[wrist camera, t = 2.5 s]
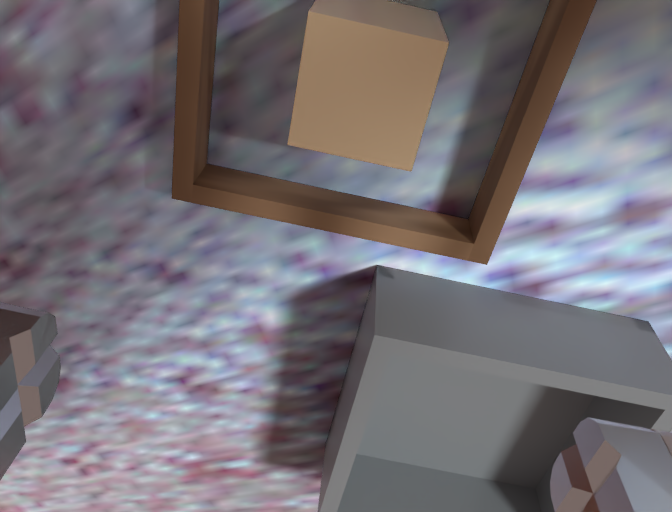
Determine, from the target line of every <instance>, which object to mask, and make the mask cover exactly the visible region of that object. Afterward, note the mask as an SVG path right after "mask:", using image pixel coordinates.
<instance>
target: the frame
mask: <svg viewBox="0 0 672 512" xmlns="http://www.w3.org/2000/svg"><path fill="white" fill-rule="evenodd" d="M596 1H597V0H550V2H549V5H548V7H547V10H546V13H545V15H544V18H543V21H542V23H541V26H540V29H539V31H538V34H537V37H536V39H535V42H534V45H533V47H532V50H531V53H530V55H529V58H528V61H527V64H526V66H525V69H524V72H523V74H522V77H521V80H520V82H519V85H518V88H517V90H516V93H515V96H514V98H513V101H512V104H511V106H510V109H509V112H508V114H507V117H506V120H505V122H504V125H503V128H502V130H501V133H500V136H499V138H498V141H497V144H496V147H495V149H494V152H493V155H492V157H491V160H490V163H489V165H488V168H487V171H486V173H485V176H484V179H483V181H482V184H481V187H480V189H479V192H478V195H477V197H476V200H475V203H474V205H473V208H472V211H471V213H470V216H469V219H464V218H460V217H455V216H450V215H446V214H441V213H436V212H431V211H427V210H422V209H417V208H413V207H408V206H403V205H399V204H394V203H389V202H384V201H380V200H375V199H370V198H366V197H361V196H356V195H352V194H347V193H342V192H337V191H333V190H328V189H323V188H319V187H314V186H309V185H305V184H300V183H295V182H290V181H286V180H281V179H276V178H272V177H267V176H262V175H258V174H253V173H248V172H244V171H239V170H234V169H229V168H225V167H220V166H215V165H211V164H207V154H208V141H209V128H210V115H211V102H212V88H213V75H214V62H215V49H216V36H217V22H218V9H219V0H180V3H179V27H178V52H177V77H176V102H175V127H174V152H173V177H172V199H177V200H181V201H186V202H191V203H196V204H200V205H205V206H210V207H215V208H219V209H224V210H229V211H234V212H239V213H243V214H248V215H253V216H258V217H262V218H267V219H272V220H277V221H281V222H286V223H291V224H296V225H300V226H305V227H310V228H315V229H320V230H324V231H329V232H334V233H339V234H343V235H348V236H353V237H358V238H362V239H367V240H372V241H377V242H381V243H386V244H391V245H396V246H401V247H405V248H410V249H415V250H420V251H424V252H429V253H434V254H439V255H443V256H448V257H453V258H458V259H462V260H467V261H472V262H477V263H482V264H486V265H487V263H488V261H489V259H490V256H491V254H492V251H493V249H494V247H495V244H496V242H497V239H498V237H499V235H500V232H501V230H502V227H503V225H504V223H505V220H506V218H507V215H508V213H509V210H510V208H511V206H512V203H513V201H514V198H515V196H516V194H517V191H518V189H519V186H520V184H521V182H522V179H523V177H524V174H525V172H526V170H527V167H528V165H529V162H530V160H531V158H532V155H533V153H534V150H535V148H536V145H537V143H538V141H539V138H540V136H541V133H542V131H543V129H544V126H545V124H546V121H547V119H548V117H549V114H550V112H551V109H552V107H553V105H554V102H555V100H556V97H557V95H558V93H559V90H560V88H561V85H562V83H563V81H564V78H565V76H566V73H567V71H568V68H569V66H570V64H571V61H572V59H573V56H574V54H575V52H576V49H577V47H578V44H579V42H580V40H581V37H582V35H583V32H584V30H585V28H586V25H587V23H588V20H589V18H590V16H591V13H592V11H593V8H594V6H595V3H596Z"/></svg>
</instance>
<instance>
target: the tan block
mask: <svg viewBox="0 0 672 512" xmlns="http://www.w3.org/2000/svg"><path fill="white" fill-rule="evenodd" d="M448 45H449V41H448V38H447V36H446V33H445V30H444V28H443V25H442V23H441V20H440V17H439V15H438V12H436V11H432V10H427V9H423V8H419V7H414V6H410V5H405V4H401V3H396V2H392V1H388V0H315V2H314V3H313V5H312V6H311V8H310V9H309V11H308V17H307V23H306V30H305V36H304V42H303V49H302V55H301V61H300V68H299V74H298V80H297V87H296V93H295V99H294V106H293V112H292V118H291V125H290V131H289V137H288V144H287V145H290V146H295V147H300V148H304V149H309V150H314V151H318V152H323V153H327V154H332V155H337V156H341V157H346V158H351V159H355V160H360V161H365V162H369V163H374V164H378V165H383V166H388V167H392V168H397V169H402V170H406V171H412V168H413V164H414V161H415V157H416V154H417V151H418V147H419V144H420V140H421V137H422V134H423V130H424V127H425V123H426V120H427V117H428V113H429V110H430V106H431V103H432V100H433V96H434V93H435V89H436V86H437V83H438V79H439V76H440V72H441V69H442V66H443V62H444V59H445V55H446V52H447V49H448Z"/></svg>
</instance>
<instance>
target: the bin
mask: <svg viewBox="0 0 672 512" xmlns="http://www.w3.org/2000/svg"><path fill="white" fill-rule="evenodd" d="M588 417H589V418H595V419H600V420H605V421H611V422H616V423H622V424H627V425H632V426H638V427H643V428H647V429H655V430H661V431H666V432H671V430H672V360H671V359H670V357H669V355H668V354H667V352H666V350H665V348H664V347H663V345H662V343H661V342H660V340H659V338H658V337H657V335H656V333H655V332H654V330H653V328H652V327H651V325H650V323H649V322H648V321H643V320H638V319H633V318H629V317H624V316H619V315H614V314H609V313H605V312H600V311H595V310H590V309H585V308H581V307H576V306H571V305H566V304H561V303H557V302H552V301H547V300H542V299H537V298H533V297H528V296H523V295H518V294H513V293H509V292H504V291H499V290H494V289H489V288H485V287H480V286H475V285H470V284H465V283H461V282H456V281H451V280H446V279H441V278H437V277H432V276H427V275H422V274H417V273H413V272H408V271H403V270H398V269H393V268H389V267H384V266H379V265H377V267H376V270H375V274H374V277H373V281H372V284H371V288H370V291H369V295H368V298H367V302H366V305H365V309H364V312H363V316H362V319H361V323H360V326H359V330H358V333H357V337H356V340H355V344H354V347H353V351H352V354H351V358H350V361H349V365H348V368H347V372H346V375H345V379H344V382H343V386H342V389H341V393H340V396H339V400H338V403H337V407H336V410H335V414H334V417H333V421H332V424H331V428H330V431H329V435H328V438H327V442H326V445H325V453H324V462H323V471H322V479H321V488H320V497H319V505H318V512H555V510H554V507H553V503H552V499H551V490H550V479H551V474H552V468H553V465H554V463H555V461H556V459H557V458H558V456H559V454H560V452H561V451H563V450H565V449H567V448H569V447H571V446H573V445H575V444H576V441H575V438H574V435H573V432H574V430H575V429H576V427H577V426H578V424H579V423H580V422H581V421H583V420H584V419H586V418H588Z"/></svg>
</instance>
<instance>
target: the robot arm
mask: <svg viewBox="0 0 672 512" xmlns="http://www.w3.org/2000/svg"><path fill="white" fill-rule="evenodd" d="M56 335H57V327H56V320H55V316H53V315H51V314H50V313H47V312H43V311H38V310H34V309H29V308H24V307H20V306H15V305H11V304H6V303H2V302H0V480H1V479H2V477H3V476H4V474H5V473H6V471H7V469H8V468H9V466H10V465H11V463H12V462H13V460H14V459H15V457H16V456H17V454H18V453H19V451H20V450H21V448H22V447H23V445H24V444H25V442H26V438H25V431H24V426H26V425H28V424H30V423H31V422H33V421H35V420H37V419H39V418H41V417H42V416H43V414H44V413H45V411H46V409H47V408H48V406H49V405H50V403H51V401H52V399H53V396H54V393H55V391H56V388H57V385H58V383H59V376H60V368H61V367H60V356H59V354H58V353H57V352H56V351H55V350H54V349H53V348H52V346H51V345H50V343H51V342H52V341H53V339H54V338H55V336H56ZM573 435H574V438H575V441H576V444H575V445H573V446H571V447H569V448H567V449H565V450H563V451H561V452H560V454H559V456H558V458H557V459H556V461H555V463H554V465H553V468H552V474H551V479H550V490H551V499H552V503H553V507H554V510H555V512H672V432H666V431H661V430H655V429H647V428H643V427H638V426H632V425H627V424H622V423H616V422H611V421H605V420H600V419H595V418H589V417H588V418H586V419H584V420H583V421H581V422H580V423H579V424H578V426H577V427H576V429H575V430H574V432H573Z"/></svg>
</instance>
